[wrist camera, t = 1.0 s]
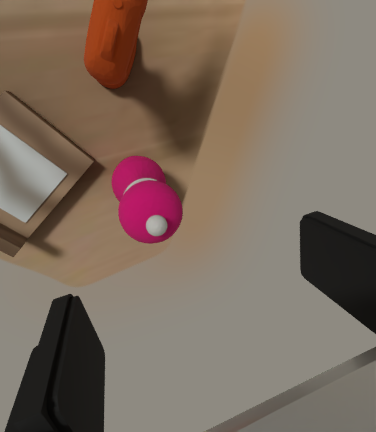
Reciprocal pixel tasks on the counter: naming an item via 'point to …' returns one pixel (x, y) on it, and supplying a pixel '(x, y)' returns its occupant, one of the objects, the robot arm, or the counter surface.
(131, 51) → the toy drill
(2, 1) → the counter surface
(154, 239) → the pepper mill
